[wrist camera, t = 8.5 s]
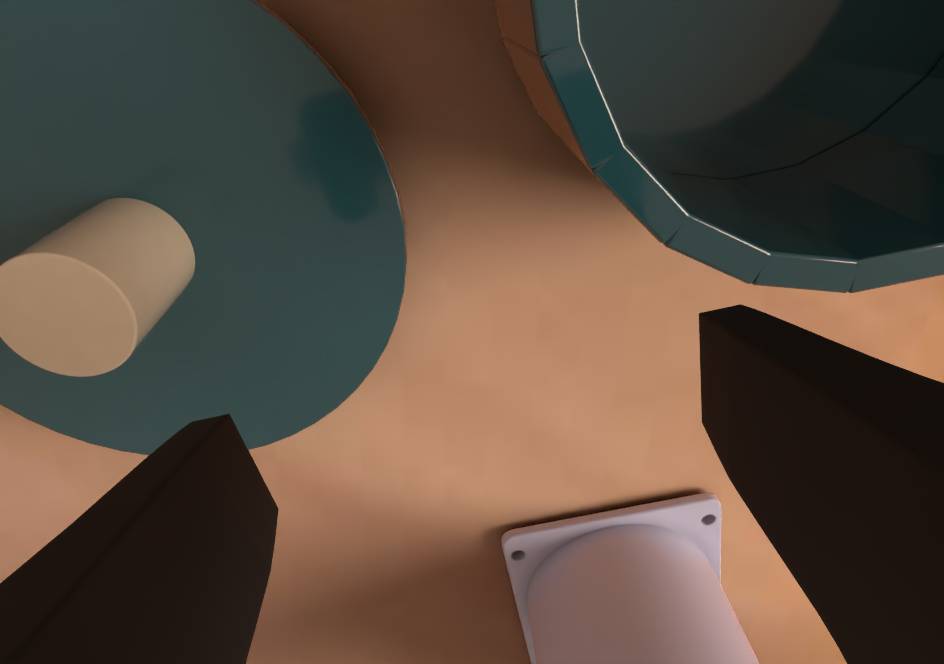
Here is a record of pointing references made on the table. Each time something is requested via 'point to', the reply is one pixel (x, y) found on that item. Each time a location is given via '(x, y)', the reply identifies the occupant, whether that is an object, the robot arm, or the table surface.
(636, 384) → the table surface
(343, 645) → the table surface
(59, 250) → the lid
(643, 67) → the pot
